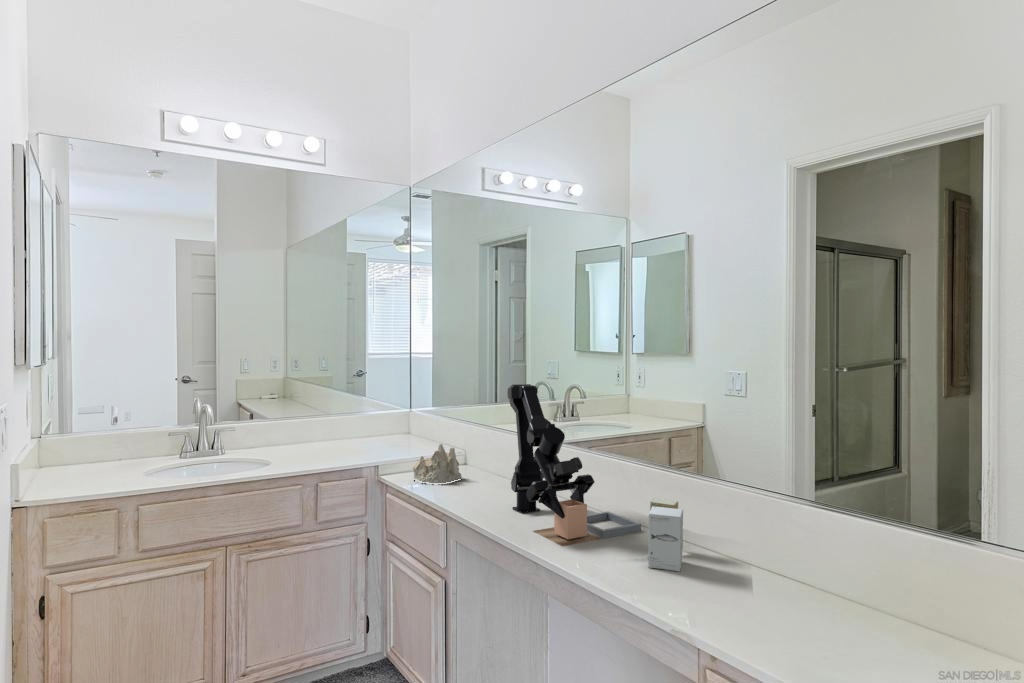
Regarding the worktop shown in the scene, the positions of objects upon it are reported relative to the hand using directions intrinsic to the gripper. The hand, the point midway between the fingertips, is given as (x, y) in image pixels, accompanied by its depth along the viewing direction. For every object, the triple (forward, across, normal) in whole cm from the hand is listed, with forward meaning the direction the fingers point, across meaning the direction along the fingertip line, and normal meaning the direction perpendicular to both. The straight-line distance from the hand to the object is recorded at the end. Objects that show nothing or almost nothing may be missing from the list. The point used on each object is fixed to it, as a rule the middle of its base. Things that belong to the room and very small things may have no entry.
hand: (573, 515), depth 158 cm
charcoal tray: (+3, +13, +8) cm, 15 cm away
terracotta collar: (+3, 0, +5) cm, 5 cm away
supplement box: (+21, +10, -11) cm, 26 cm away
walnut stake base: (+3, 0, +8) cm, 8 cm away
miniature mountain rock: (-55, -1, +66) cm, 86 cm away
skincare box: (+16, +17, -5) cm, 24 cm away
